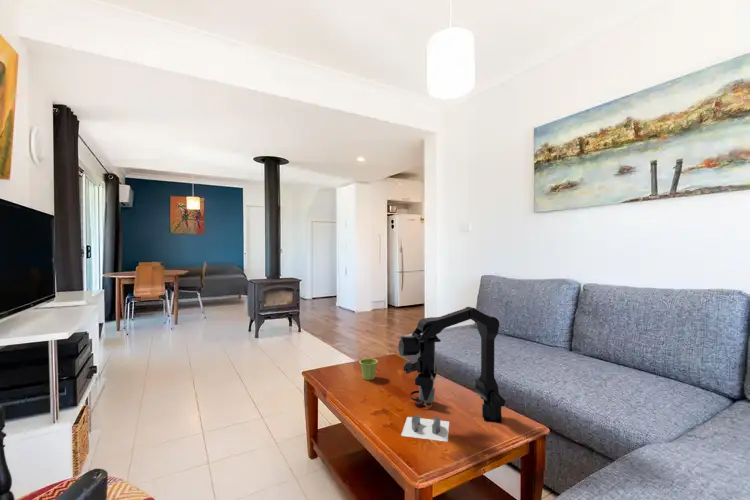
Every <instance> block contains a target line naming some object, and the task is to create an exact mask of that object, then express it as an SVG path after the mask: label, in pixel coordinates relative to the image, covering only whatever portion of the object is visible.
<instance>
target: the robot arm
mask: <svg viewBox="0 0 750 500" xmlns="http://www.w3.org/2000/svg"><path fill="white" fill-rule="evenodd" d="M469 320H472V321H473V322H474V323H476V326H477V327H476V328H477V331H478V334H479V335H480V339H481V341H480V350H481V351H480V376H479V378H475V380H474V381H475V386H474V389H475V390H476V393H477V394H478V395H479V397H480V399H482V400H483V403H482V404H481V413H482V414H481V415H482V418H483V420H484V422H490V423H497V424H498V423H499V424H503V420H502V408H503V407H505V405H506V400H505V399H504V397H502V396H501V395H500V391H499V385H498V383H497V380H496V378H495V377H496V376H495V339H496V337H497V336H498V334H499V331H500V320H499V319H498V318H497V317H496V316H492V315H489V314H485V313H483V312H482V311H480V310H478V309H477V308H475V307H472V306H466V307H464V308H462V309H459V310H456V311H453V312H449V313H447V314H444V315H441V316H438V317H437V316H435V317H432V316H431V317H424V318H420V319H419V320H418V322H417V326H416V328H415V329H414V331H412V333H411V335H410V336H406V335H401V336H400V340H399V342H398V344H397V345H398V346H397V348H398V349H397V350H398V354H399V355H400V356H401V357H409V356H417V355H418V358H416V359H412V360H408V361H405V362H404V363H403V371H404V372H405V374H406V375H408V374H410V373H413V372H416V373H417V374H416V376H415V379H414V386H419V387H420V386H421V389H422V393H423V397H424V400H426V401H427V400H428V397H429V395H430V393H431V390H432V388H433V387H434V384H435V379H436V377H437V372H438V364H437V363H436V343H440V342H441V339H440V338H439V337H438V334H440V333H441V332H442V331H444V330H445V329H447V328H449V327H452V326H455V325H458V324H461V323H463V322H467V321H469Z"/></svg>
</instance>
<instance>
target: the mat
mask: <svg viewBox="0 0 750 500" xmlns="http://www.w3.org/2000/svg"><path fill="white" fill-rule="evenodd" d="M412 417H413V416H407V417H406V420H405V423H404V426H403V428H402V432H401V433H400V436H401V437H407V438H415V439H424V440H430V441H440V442H446V443H448V441H449V430H450V421H448V420H447V421H446V420H440V432H439V433H438V434H436V435H435V434H433V433H432V424H434V419H429V418H423V417H422V418H421V417H420V424H419V425H418V432H414V431H413V430H412Z"/></svg>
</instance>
